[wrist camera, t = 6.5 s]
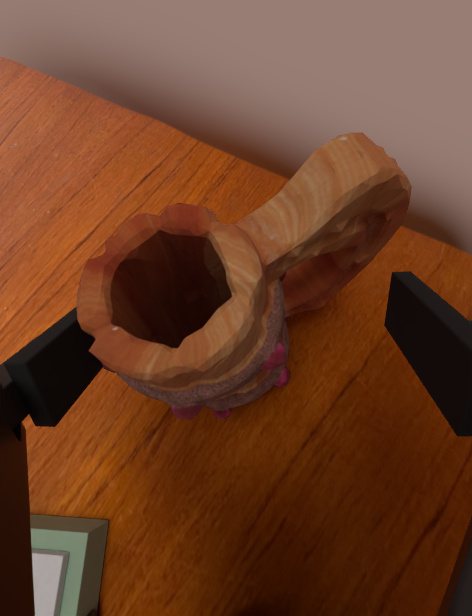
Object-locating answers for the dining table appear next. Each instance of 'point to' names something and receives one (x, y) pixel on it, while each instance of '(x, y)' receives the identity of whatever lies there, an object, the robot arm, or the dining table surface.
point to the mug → (236, 279)
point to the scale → (67, 564)
